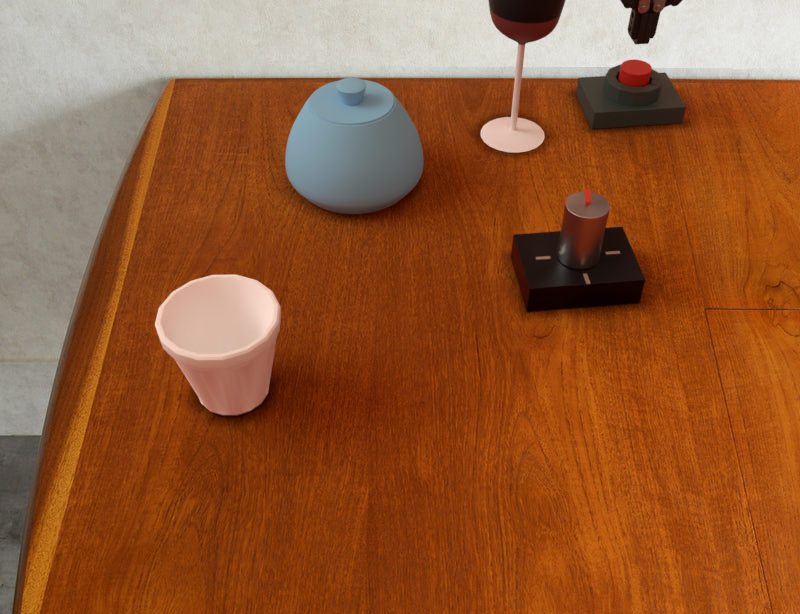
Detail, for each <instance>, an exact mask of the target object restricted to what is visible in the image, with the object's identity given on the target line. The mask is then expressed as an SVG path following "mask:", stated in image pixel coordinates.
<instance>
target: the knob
mask: <svg viewBox="0 0 800 614" xmlns="http://www.w3.org/2000/svg"><path fill="white" fill-rule="evenodd" d="M610 205H611V204H610V201H609V200H608V199H607V198H606V197H605V196H603V195H601V194H600V193H596V192H594V191H592V189H591V188H585V189H584V191H576V192H574V193H572V194H570V195H569V196H567V197H566V199H565V203H564V207H563V208H564V209H563V215H562V221H561V227H560V231H561V232H560V238H559V245H558V251H557V257H558V259H559V261H560V262H561V263H562V264H564V265H565V266H567V267H570V268H573V269H588V268H591V267H593V266H594V265H596V264H597V262H598V261H599V257H600V252H601V247H602V243H603V238H604V233H605V229H606V228H607V225H608V219H609V214H610V210H611V206H610Z"/></svg>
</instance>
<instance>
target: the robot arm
mask: <svg viewBox="0 0 800 614" xmlns="http://www.w3.org/2000/svg"><path fill="white" fill-rule="evenodd" d="M619 1H620V2H621V4H622V6H623V7H624V9H631V10H630V15H629V19H628V20H629V21H628V24H627V34H628V35H629V37H630V39H631V40H632V42H633V44H634V45H648V44H650V40H651V39H654V38H655V35H656V34H657V30H658V25H659V21H660V15H661V12H662V11H663V10H664V9H665V8H666V7H669V6H672V7H677V6H679V5H680V4H681V3H682V2H683V0H619Z"/></svg>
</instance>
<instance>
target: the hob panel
mask: <svg viewBox="0 0 800 614" xmlns="http://www.w3.org/2000/svg"><path fill="white" fill-rule="evenodd" d="M560 232H561V230H557V231H541V232H527V233H514V234H513V235H512V244H511V252H510V261H511V264H512V268H513V270H514V274H515V278H516V280H517V284H518V288H519V291H520V294H521V298H522V301H523V304H524V307H525V311H526V313H533V312H544V311H546V312H547V311H557V310H559V311H560V310H570V309H582V308H594V307H595V308H596V307H608V306H621V305H632V304H640V302H641V298H642V295H643V291H644V287H645V284H646V277H645V275H644V273H643V270H642V268H641V266H640V263H639V261H638V259H637V257H636V253H635V252H634V250H633V248H632V246H631V243H630V241H629V238H628V236H627V234H626V232H625V229H624V227H623V226H611V227H610V226H609V227H606V229H605V233H604V238H603V243H602V247H601V252H600V257H599V261H598V262H597V264H596V265H594V266H593V267H591V268H588V269H573V268H570V267H567V266H565V265H564V264H562V263H561V262H560V261H559V259H558V257H557V251H558V245H559V238H560Z"/></svg>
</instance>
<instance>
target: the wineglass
mask: <svg viewBox="0 0 800 614" xmlns="http://www.w3.org/2000/svg"><path fill="white" fill-rule="evenodd" d="M565 4H566V0H488V8H489V9H488V10H489V14H490V18H491V21H492V23H493V25H494V27H495V29H497V30H498V31H499V33H501V34H502V35H504V36H505V37H506V38H508V39H510V40H511V41H514V42H516V43H517V51H516V62H515V73H514V82H513V93H512V103H511V110H510V111H511V113H510V116H503V117H497V118H494V119H492V120H489V121H487V122H486V123H485V124H483V126H482V128H481V129H480V138H481V140H482V141H483V143H484V144H486V145H487V146H488V147H490V148H492V149H494V150H497V151H500V152H504V153H513V154H514V153H515V154H516V153H525V152H530V151H532V150H535V149H537V148H538V147H539V146H541V145H542V144H543V142H544V140H545V139H546V137H545V131H544V130H543V129H542V127H541V126H540V125H538V123H536V122H534V121H532V120H530V119H526V118H523V117H518V116H519V107H520V98H521V97H520V96H521V88H522V79H523V69H524V59H525V50H526V44H528V43H532V42H536V41H539V40H541V39H543V38H546V37H547V36H548V35H550V34H551V33H552V32H553V31H554V30H555V28H556V27H557V26H558V23H559V21H560V18H561V16H562V12H563V9H564V7H565Z"/></svg>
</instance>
